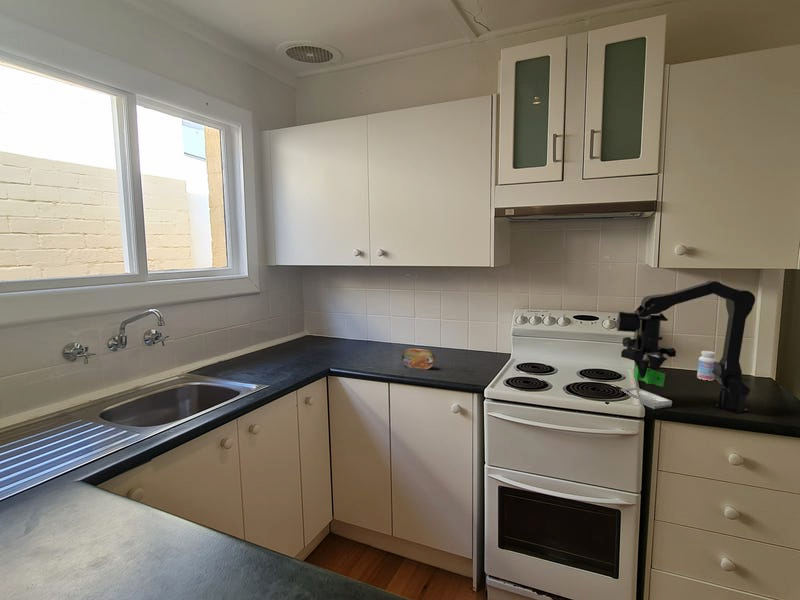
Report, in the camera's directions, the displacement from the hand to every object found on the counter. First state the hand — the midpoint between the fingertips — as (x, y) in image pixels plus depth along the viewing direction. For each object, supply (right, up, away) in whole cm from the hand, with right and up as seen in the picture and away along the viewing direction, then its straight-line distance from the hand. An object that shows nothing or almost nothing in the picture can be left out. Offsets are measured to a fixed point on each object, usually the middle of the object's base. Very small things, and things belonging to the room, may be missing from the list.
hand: (646, 377), depth 152 cm
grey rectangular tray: (0, -8, +1) cm, 8 cm away
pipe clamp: (0, -2, 0) cm, 2 cm away
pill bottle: (+39, -6, +26) cm, 47 cm away
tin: (-77, -3, +41) cm, 88 cm away
